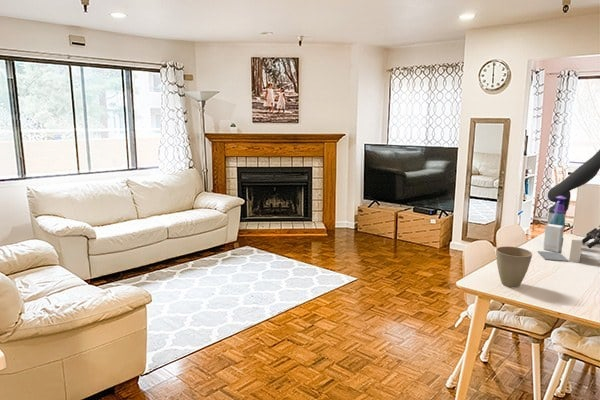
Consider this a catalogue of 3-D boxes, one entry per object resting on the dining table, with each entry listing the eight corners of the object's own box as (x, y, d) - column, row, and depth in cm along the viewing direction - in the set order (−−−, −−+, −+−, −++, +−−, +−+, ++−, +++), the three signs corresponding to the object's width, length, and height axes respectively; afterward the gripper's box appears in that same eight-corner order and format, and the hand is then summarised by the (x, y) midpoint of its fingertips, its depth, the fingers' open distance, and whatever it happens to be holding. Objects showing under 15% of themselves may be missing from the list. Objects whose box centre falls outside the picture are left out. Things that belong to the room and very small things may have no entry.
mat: (537, 252, 253) (537, 251, 253) (559, 253, 251) (559, 252, 251) (545, 259, 240) (545, 258, 240) (568, 261, 238) (568, 260, 237)
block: (561, 254, 250) (564, 233, 248) (571, 255, 249) (574, 234, 246) (568, 261, 238) (571, 239, 236) (579, 262, 237) (582, 240, 235)
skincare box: (561, 251, 256) (565, 225, 253) (558, 253, 252) (561, 227, 249) (545, 247, 262) (549, 223, 259) (542, 249, 258) (545, 224, 255)
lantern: (549, 240, 276) (555, 193, 270) (569, 245, 267) (576, 196, 261) (539, 244, 268) (546, 195, 262) (560, 249, 259) (567, 198, 253)
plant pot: (497, 276, 215) (501, 244, 211) (531, 284, 205) (536, 250, 202) (488, 285, 203) (491, 251, 200) (523, 293, 194) (527, 258, 191)
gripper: (601, 217, 243) (575, 236, 248) (613, 223, 229) (585, 243, 234) (611, 227, 243) (584, 246, 248) (623, 234, 229) (595, 254, 234)
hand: (585, 244), depth 241 cm, fingers open, 8 cm apart
